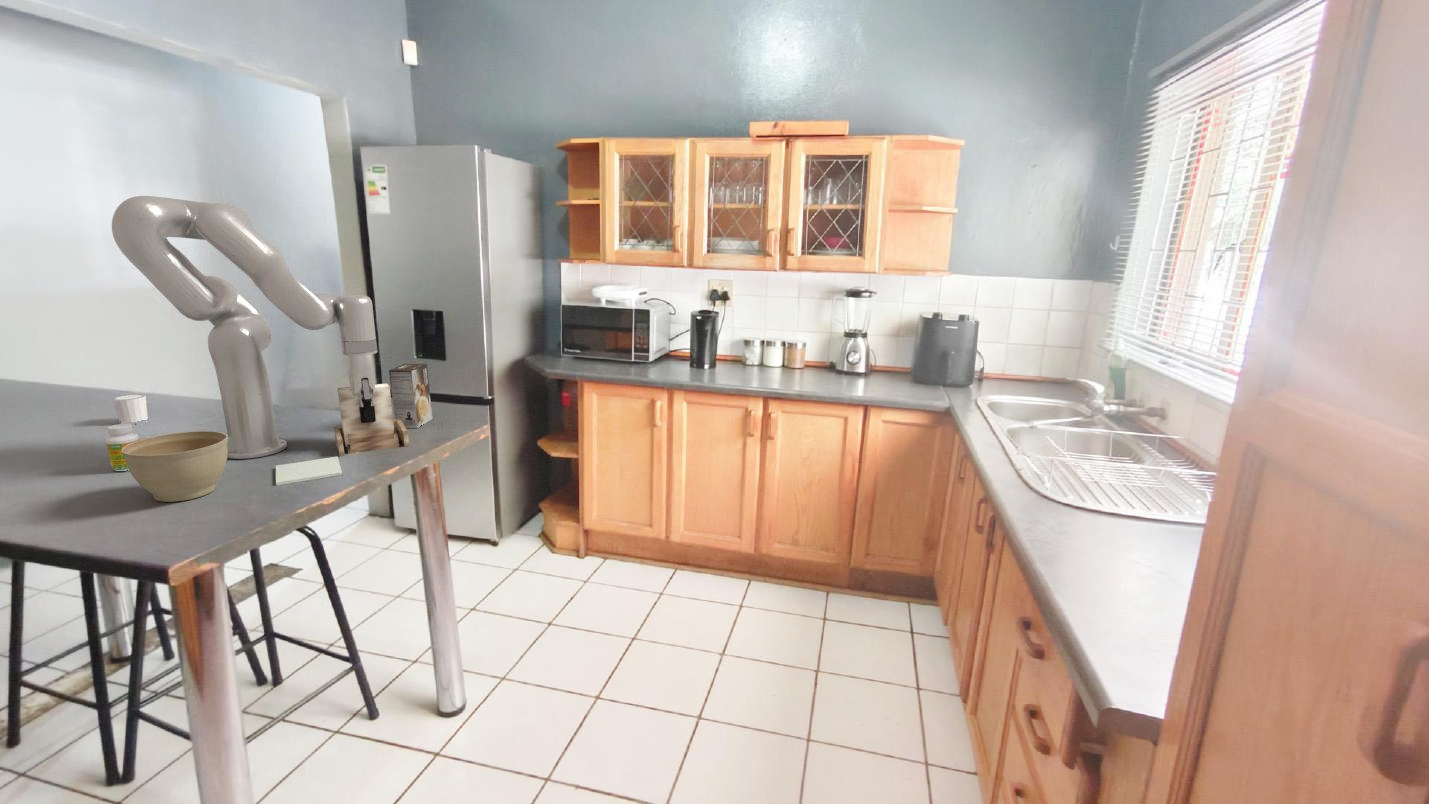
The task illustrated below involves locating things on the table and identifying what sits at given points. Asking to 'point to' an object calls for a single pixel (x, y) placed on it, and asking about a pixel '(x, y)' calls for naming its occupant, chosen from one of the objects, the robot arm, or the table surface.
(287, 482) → the sage board
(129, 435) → the supplement bottle
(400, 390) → the coffee box
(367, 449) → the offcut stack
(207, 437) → the planter bowl
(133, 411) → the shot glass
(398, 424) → the pine rack
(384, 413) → the birch sheet
